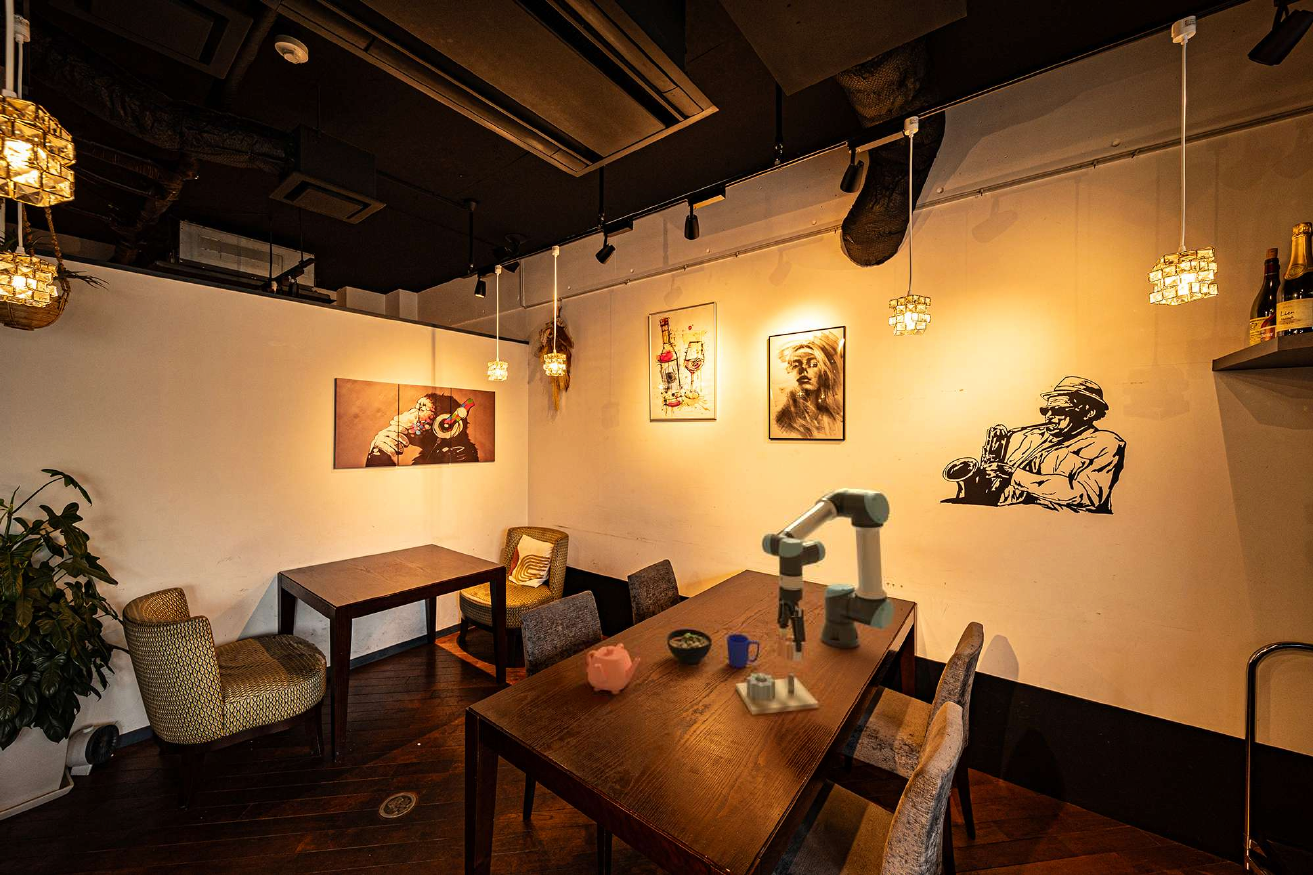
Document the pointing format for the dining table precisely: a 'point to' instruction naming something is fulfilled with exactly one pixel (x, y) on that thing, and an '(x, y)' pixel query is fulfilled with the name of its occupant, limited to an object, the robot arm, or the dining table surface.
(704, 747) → the dining table surface
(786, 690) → the board
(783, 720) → the dining table surface
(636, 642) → the dining table surface
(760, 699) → the gear
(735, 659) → the mug
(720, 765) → the dining table surface
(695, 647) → the bowl
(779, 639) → the gear
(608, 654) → the teapot
